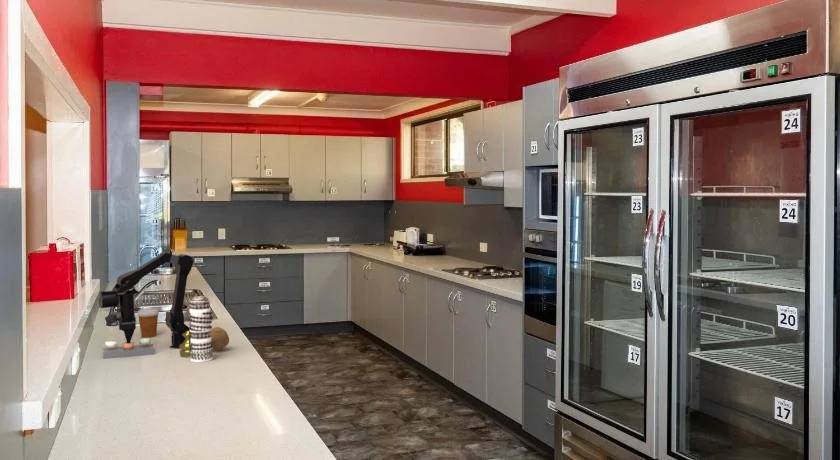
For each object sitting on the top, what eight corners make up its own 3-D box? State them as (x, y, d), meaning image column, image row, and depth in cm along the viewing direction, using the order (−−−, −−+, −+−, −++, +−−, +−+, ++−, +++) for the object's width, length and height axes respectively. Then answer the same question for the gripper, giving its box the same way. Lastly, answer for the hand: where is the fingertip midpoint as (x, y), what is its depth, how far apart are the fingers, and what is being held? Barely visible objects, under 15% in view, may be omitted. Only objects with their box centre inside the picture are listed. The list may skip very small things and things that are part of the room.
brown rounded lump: (201, 351, 316) (200, 328, 316) (216, 347, 324) (215, 324, 324) (218, 353, 312) (217, 329, 311) (233, 349, 320) (232, 325, 319)
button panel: (153, 349, 321) (152, 344, 321) (153, 354, 313) (153, 348, 313) (104, 354, 315) (103, 348, 315) (103, 358, 306) (103, 352, 306)
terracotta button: (134, 346, 317) (134, 341, 316) (134, 348, 313) (134, 343, 312) (122, 347, 315) (122, 342, 315) (122, 349, 311) (122, 344, 311)
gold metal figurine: (193, 357, 306) (192, 333, 305) (176, 357, 308) (175, 332, 307) (202, 353, 313) (201, 329, 313) (185, 353, 315) (184, 329, 314)
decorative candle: (212, 355, 308) (210, 294, 307) (215, 360, 300) (212, 297, 298) (188, 358, 305) (186, 296, 303) (190, 363, 296) (188, 299, 295)
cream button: (117, 344, 314) (117, 339, 314) (117, 346, 310) (116, 342, 310) (105, 345, 313) (105, 340, 313) (105, 347, 309) (105, 343, 308)
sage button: (150, 341, 319) (150, 337, 319) (150, 344, 315) (150, 339, 315) (139, 342, 317) (139, 338, 317) (139, 344, 313) (139, 340, 313)
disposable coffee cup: (145, 339, 344) (144, 312, 343) (133, 336, 350) (132, 310, 349) (164, 335, 351) (163, 309, 351) (152, 333, 357) (151, 307, 356)
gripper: (106, 303, 319) (108, 340, 320) (104, 310, 301) (106, 349, 302) (134, 301, 322) (136, 338, 324) (134, 308, 305) (136, 347, 306)
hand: (128, 343), depth 314 cm, fingers closed, pressing on terracotta button
